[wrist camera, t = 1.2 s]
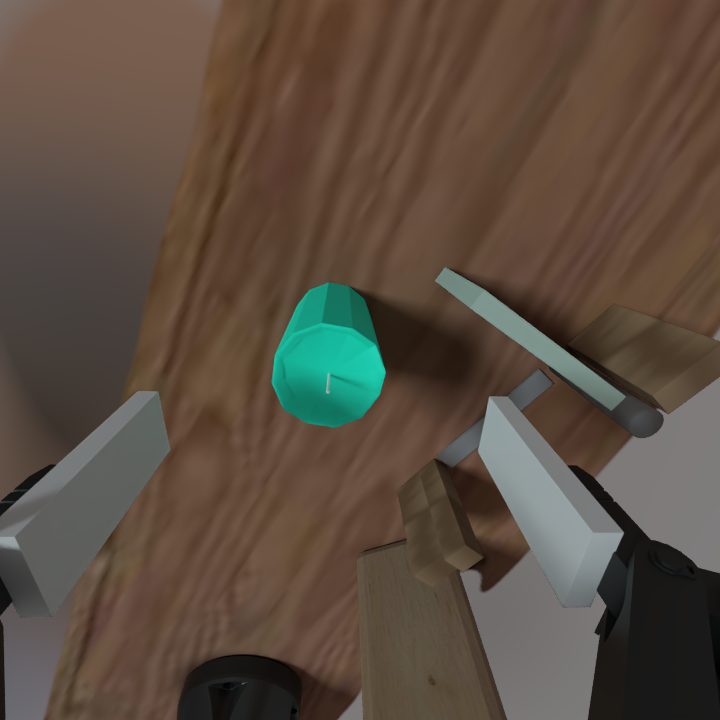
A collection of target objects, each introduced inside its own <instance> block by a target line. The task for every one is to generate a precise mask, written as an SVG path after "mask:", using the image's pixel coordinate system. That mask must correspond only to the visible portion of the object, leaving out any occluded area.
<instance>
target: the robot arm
mask: <svg viewBox="0 0 720 720" xmlns="http://www.w3.org/2000/svg"><path fill="white" fill-rule="evenodd" d="M169 451H170V446H169V441H168V437H167V432H166V427H165V422H164V417H163V412H162V407H161V403H160V398H159V393H158V392H151V391H138V392H137V393H135V394H134V395H133V396H132V397H131V398H130V399H129V400H128V401H127V402H126V403H124V404H123V405H122V406H121V407H120V408H119V409H118V410H117V411H116V412H115V413H113V414H112V415H111V416H110V417H109V418H108V419H107V420H106V421H105V422H104V423H102V424H101V425H100V426H99V427H98V428H97V429H96V430H95V431H94V432H93V433H91V434H90V435H89V436H88V437H87V438H86V439H85V440H84V441H83V442H82V443H81V444H80V445H78V446H77V447H76V448H75V449H74V450H73V451H72V452H71V453H69V454H68V455H67V456H66V457H65V458H64V459H63V460H62V461H61V462H60V463H58V465H48V466H47V467H45V468H43V469H41V470H40V471H38V472H36V473H34V474H33V475H31V476H29V477H28V478H27V479H26V480H25V481H24V482H23V483H21V484H20V485H19V486H18V487H16V488H15V489H14V492H11V493H10V494H8V495H7V496H6V497H5V498H4V499H3V500H1V503H0V615H1V614H2V613H3V612H4V611H5V609H6V608H7V607H8V606H9V605H10V603H11V602H12V603H13V605H14V607H15V609H16V611H17V613H18V615H19V617H20V618H21V617H22V618H23V617H52V616H53V615H54V614H55V612H56V611H57V609H58V608H59V607H60V605H61V604H62V602H63V601H64V600H65V598H66V597H67V595H68V594H69V593H70V591H71V590H72V588H73V587H74V586H75V584H76V583H77V581H78V580H79V578H80V577H81V576H82V574H83V573H84V571H85V570H86V568H87V567H88V566H89V564H90V563H91V561H92V560H93V559H94V557H95V556H96V554H97V553H98V551H99V550H100V549H101V547H102V546H103V544H104V543H105V542H106V540H107V539H108V537H109V536H110V534H111V533H112V532H113V530H114V529H115V527H116V526H117V525H118V523H119V522H120V520H121V519H122V517H123V516H124V515H125V513H126V512H127V510H128V509H129V508H130V506H131V505H132V503H133V502H134V500H135V499H136V498H137V496H138V495H139V493H140V492H141V491H142V489H143V488H144V486H145V485H146V483H147V482H148V481H149V479H150V478H151V476H152V475H153V474H154V472H155V471H156V469H157V468H158V466H159V465H160V464H161V462H162V461H163V459H164V458H165V457H166V455H167V454H168V452H169ZM478 453H479V454H480V456H481V458H482V460H483V462H484V464H485V465H486V467H487V469H488V471H489V473H490V475H491V476H492V478H493V480H494V482H495V484H496V486H497V487H498V489H499V491H500V493H501V495H502V497H503V498H504V500H505V502H506V504H507V506H508V508H509V509H510V511H511V513H512V515H513V517H514V519H515V520H516V522H517V524H518V526H519V528H520V530H521V531H522V533H523V535H524V537H525V539H526V541H527V543H528V544H529V546H530V548H531V550H532V552H533V553H534V555H535V557H536V559H537V561H538V563H539V565H540V566H541V568H542V570H543V572H544V574H545V576H546V577H547V579H548V581H549V583H550V585H551V586H552V588H553V590H554V592H555V594H556V596H557V598H558V599H559V601H560V603H561V605H562V607H590V606H591V604H592V602H593V600H594V597H595V595H596V593H597V592H598V593H599V595H600V596H601V598H602V599H603V601H604V603H605V604H606V606H607V607H606V609H605V611H604V614H603V615H602V618H601V619H600V622H599V624H598V626H597V628H596V630H595V633H596V634H597V635H600V639H599V645H598V652H597V659H596V667H595V673H594V681H593V687H592V695H591V701H590V709H589V715H588V720H720V573H716V572H712V571H708V570H705V569H701V568H698V567H697V566H696V565H695V564H694V562H693V561H692V560H690V559H689V558H688V557H687V556H685V555H684V554H683V553H682V552H680V551H678V550H677V549H675V548H673V547H671V546H669V545H667V544H664V543H661V542H658V541H654V540H650V538H649V537H648V536H647V535H646V534H645V533H644V532H643V531H642V530H641V529H640V528H639V526H638V525H637V524H636V523H635V522H634V521H633V520H632V519H631V518H630V517H629V516H628V514H626V512H625V511H624V510H623V509H622V508H621V507H620V506H619V505H618V504H617V503H616V502H614V501H613V498H612V497H611V496H610V495H609V494H608V493H607V492H606V491H604V488H603V487H602V486H601V485H600V484H599V483H598V482H597V481H596V480H595V478H594V477H593V476H591V475H590V474H588V473H587V472H585V471H584V470H583V469H581V468H580V467H578V466H574V465H566V464H565V463H564V462H563V461H562V459H561V458H560V457H559V456H558V455H557V454H556V452H555V451H554V450H553V449H552V448H551V447H550V445H549V444H548V443H547V442H546V441H545V440H544V438H543V437H542V436H541V435H540V434H539V433H538V431H537V430H536V429H535V428H534V427H533V426H532V424H531V423H530V422H529V421H528V420H527V419H526V417H525V416H524V415H523V414H522V413H521V412H520V410H519V409H518V408H517V407H516V406H515V405H514V403H513V402H512V401H511V400H510V399H509V397H495V396H489V401H488V406H487V411H486V416H485V420H484V425H483V430H482V435H481V440H480V444H479V449H478ZM4 682H5V681H4V636H3V625H2V623H1V620H0V720H5V683H4ZM301 693H302V687H301V683H300V680H299V679H298V677H297V676H296V675H295V674H294V673H293V672H292V671H291V670H290V669H288V668H287V667H285V666H283V665H281V664H279V663H277V662H274V661H272V660H268V659H264V658H259V657H251V656H232V657H224V658H219V659H216V660H212V661H209V662H207V663H205V664H202V665H201V666H199V667H197V668H196V669H195V670H193V671H192V672H191V673H190V674H189V676H188V677H187V679H186V681H185V684H184V687H183V690H182V693H181V696H180V699H179V703H178V710H177V720H297V719H298V716H299V712H300V705H301Z"/></svg>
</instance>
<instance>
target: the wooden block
mask: <svg viewBox="0 0 720 720" xmlns="http://www.w3.org/2000/svg"><path fill="white" fill-rule="evenodd" d="M357 582H358V606H359V629H360V653H361V676H362V699H363V720H507V718H506V715H505V712H504V709H503V705H502V703H501V699H500V696H499V693H498V690H497V687H496V684H495V681H494V678H493V674H492V671H491V669H490V666H489V662H488V659H487V656H486V653H485V650H484V647H483V644H482V640H481V637H480V635H479V631H478V628H477V625H476V622H475V619H474V616H473V613H472V610H471V606H470V603H469V600H468V597H467V594H466V591H465V588H464V585H463V582H462V579H461V576H460V573H459V570H458V569H457V570H455V571H454V572H452V573H451V574H450V575H448V576H447V577H446V578H444V579H443V580H441V581H440V582H439V583H437V584H436V585H435V586H433V587H431V586H429V585H427V584H426V583H424V582H423V581H421V580H419V579H418V578H416V577H414V573H413V568H412V563H411V558H410V553H409V548H408V543H407V540H404V541H401V542H397V543H393V544H390V545H386V546H383V547H379V548H376V549H372V550H368V551H365V552H362V553H361V554H360V555H359V556H358V559H357Z"/></svg>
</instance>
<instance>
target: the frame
mask: <svg viewBox="0 0 720 720" xmlns="http://www.w3.org/2000/svg"><path fill="white" fill-rule="evenodd" d="M567 345H568V346H569V347H570V348H571V349H572V350H573V351H574V352H575V353H576V354H577V355H578V357H579V358H580V359H582V360H583V361H585V362H586V363H588V364H590V365H591V366H593V367H594V368H596V369H598V370H599V371H601V372H602V373H604V374H605V375H607V376H609V377H610V378H612V379H613V380H615V381H617V382H618V383H620V384H621V385H623V386H624V387H626V388H628V389H629V390H631V391H632V392H634V393H636V394H637V395H639V396H640V397H642V398H643V399H645V400H647V401H648V402H650V403H651V404H653V405H655V406H656V407H658V408H659V409H661V410H663V411H664V412H666V413H667V414H670V413H671V412H672V411H674V410H675V409H676V408H678V407H679V406H681V405H682V404H683V403H685V402H686V401H687V400H689V399H690V398H691V397H693V396H694V395H696V394H697V393H698V392H700V391H701V390H702V389H704V388H705V387H706V386H708V385H709V384H711V383H712V382H713V381H715V380H716V379H717V378H719V377H720V341H718V340H715V339H712V338H709V337H706V336H704V335H701V334H698V333H695V332H692V331H689V330H687V329H684V328H681V327H678V326H675V325H672V324H670V323H667V322H664V321H661V320H658V319H655V318H653V317H650V316H647V315H644V314H641V313H638V312H636V311H633V310H630V309H627V308H624V307H621V306H619V305H616V304H613V305H612V306H611V307H610V308H609V309H608V310H606V311H605V312H604V313H603V314H602V315H601V316H599V317H598V318H597V319H596V320H595V321H594V322H592V323H591V324H590V325H589V326H588V327H587V328H585V329H584V330H583V331H582V332H581V333H580V334H578V335H577V336H576V337H575V338H574V339H573V340H571V341H570V342H569V343H568V344H567ZM574 358H575V357H574ZM577 360H578V359H577ZM578 361H579V360H578ZM580 362H581V361H580ZM581 363H582V362H581ZM582 364H584V363H582ZM584 365H585V364H584ZM585 366H586V367H587V368H589V369H590V370H591V371H593V372H594V373H595V374H597V375H598V376H599V377H601V378H602V379H603V380H605V381H606V382H607V383H609V384H610V385H611V386H613V387H614V388H615V389H617V390H618V391H619V392H621V393H622V394H623V395H625V396H626V398H624V399H623V400H622V401H621V402H620V403H619V404H618V405H617V406H616V407H615V408H614V409H613V410H612V411H611V410H610V409H608V408H607V407H605V406H604V405H603V404H601V403H600V402H599V401H597V400H596V399H594V398H593V397H592V396H590V395H589V394H588V393H586V392H585V391H583V390H582V389H581V388H579V387H578V386H577V385H575V384H574V383H572V382H571V381H570V380H568V379H567V378H566V377H564V376H563V375H561V374H560V373H559V372H557V371H556V370H555V369H553V368H552V367H550V366H549V369H550V370H551V371H552V372H553V373H554V374H555V375H557V376H558V377H559V378H560V379H562V380H563V381H564V382H566V383H567V384H568V385H569V386H571V387H572V388H573V389H575V390H576V391H577V392H578V393H580V394H581V395H582V396H584V397H585V398H586V399H587V400H589V401H590V402H591V403H593V404H594V405H595V406H596V407H598V408H599V409H600V410H601V411H603V412H604V413H605V414H607V415H608V416H609V417H610V418H612V419H613V420H614V421H616V422H617V423H618V424H619V425H621V426H622V427H623V428H625V429H626V430H627V431H628V432H630V433H631V434H632V435H634V436H635V437H637V438H646V437H649V436H652V435H653V434H655V433H656V432H657V431H658V430H659V429H660V428H661V426H662V424H663V420H664V419H663V415H662V414H661V413H660V412H659V411H657V410H655V409H654V408H652V407H651V406H649V405H648V404H646V403H645V402H643V401H641V400H640V399H638V398H637V397H635V396H634V395H632V394H631V393H629V392H627V391H626V390H624V389H623V388H621V387H620V386H618V385H617V384H615V383H613V382H612V381H610V380H609V379H607V378H606V377H604V376H603V375H601V374H599V373H598V372H596V371H595V370H593V369H592V368H590V367H589V366H587V365H585ZM551 385H553V383H552V382H551V381H550V380H549V379H548V378H547V377H546V376H545V375H544V374H543V373H542V372H541V371H540V370H539V369H538V370H536V371H535V372H534V373H533V374H532V375H531V376H529V377H528V378H527V379H526V380H525V381H524V382H523V383H521V384H520V385H519V386H518V387H517V388H516V389H514V390H513V391H512V392H511V393H510V394H509V395H507V396H506V397H509V399H510V400H511V401H512V402H513V403H514V405H515V406H516V407H517V408H518V409H519V410H520V411H521V410H523V409H524V408H525V407H526V406H527V405H529V404H530V403H531V402H532V401H533V400H535V399H536V398H537V397H538V396H539V395H541V394H542V393H543V392H544V391H545V390H547V389H548V388H549V387H550V386H551ZM485 416H486V414H485V415H484V416H483V417H482V418H481V419H479V420H478V421H477V422H476V423H475V424H474V425H472V426H471V427H470V428H469V429H468V430H467V431H465V432H464V433H463V434H462V435H461V436H460V437H458V438H457V439H456V440H455V441H454V442H453V443H451V444H450V445H449V446H448V447H447V448H446V449H444V450H443V451H442V452H441V453H440V454H439V455H438V456H437V457H438V458H439V459H440V460H441V461H443V462H444V463H445V464H447V465H448V466H449V467H450V468H453V467H454V466H455V465H457V464H458V463H459V462H460V461H461V460H463V459H464V458H465V457H466V456H467V455H469V454H470V453H471V452H472V451H473V450H475V449H476V448H477V447H478V446H479V444H480V440H481V435H482V430H483V425H484V420H485ZM397 492H398V497H399V502H400V507H401V512H402V517H403V522H404V528H405V533H406V538H407V543H408V548H409V553H410V558H411V563H412V568H413V573H414V577H416V578H418V579H419V580H421V581H423V582H424V583H426V584H427V585H429V586H431V587H433V586H435V585H436V584H437V583H439V582H440V581H441V580H443V579H444V578H446V577H447V576H448V575H450V574H451V573H452V572H454V571H455V570H457V569H459V570H460V571H462V572H464V571H466V570H467V569H469V568H470V567H471V566H473V565H474V564H475V563H477V562H478V561H480V560H481V559H482V558H484V557H483V554H482V552H481V549H480V547H479V545H478V542H477V540H476V537H475V535H474V532H473V530H472V527H471V525H470V522H469V520H468V517H467V515H466V513H465V510H464V508H463V505H462V503H461V500H460V498H459V495H458V493H457V490H456V488H455V485H454V483H453V481H452V478H451V476H450V473H449V471H448V469H447V468H445V467H444V466H443V465H442V464H440V463H439V462H438V461H436V460H435V459H433V460H432V461H431V462H429V463H428V464H427V465H426V466H425V467H424V468H422V469H421V470H420V471H419V472H418V473H417V474H415V475H414V476H413V477H412V478H411V479H410V480H408V481H407V482H406V483H405V484H404V485H403V486H401V487H400V488H399V489H398V490H397Z"/></svg>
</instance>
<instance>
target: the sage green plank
mask: <svg viewBox="0 0 720 720" xmlns="http://www.w3.org/2000/svg"><path fill="white" fill-rule="evenodd" d="M435 281H436V282H437V283H439V284H440V285H441V286H442V287H444V288H445V289H446V290H448V291H449V292H450V293H451V294H453V295H454V296H455V297H457V298H458V299H459V300H460V301H462V302H463V303H464V304H466V305H467V306H468V307H469V308H471V309H472V310H473V311H475V312H476V313H478V314H479V315H480V316H482V317H483V318H484V319H486V320H487V321H489V322H490V323H491V324H493V325H494V326H495V327H497V328H498V329H500V330H501V331H502V332H504V333H505V334H506V335H508V336H509V337H511V338H512V339H513V340H515V341H516V342H517V343H519V344H520V345H522V346H523V347H524V348H526V349H527V350H528V351H530V352H531V353H533V354H534V355H535V356H537V357H538V358H539V359H541V360H542V361H544V362H545V363H546V364H548V365H549V366H550V367H552V368H553V369H555V370H556V371H557V372H559V373H560V374H561V375H563V376H564V377H566V378H567V379H568V380H570V381H571V382H572V383H574V384H575V385H577V386H578V387H579V388H581V389H582V390H583V391H585V392H586V393H588V394H589V395H590V396H592V397H593V398H594V399H596V400H597V401H599V402H600V403H601V404H603V405H604V406H605V407H607V408H608V409H610V410H611V411H612V410H613V409H614V408H615V407H616V406H617V405H618V404H619V403H620V402H621V401H622V400H623V399H624V398H626V396H625V395H623V394H622V393H621V392H619V391H618V390H617V389H615V388H614V387H613V386H611V385H610V384H609V383H607V382H606V381H605V380H603V379H602V378H601V377H599V376H598V375H597V374H595V373H594V372H593V371H591V370H590V369H589V368H587V367H586V366H585V365H584V364H582V363H581V362H580V361H578V360H577V359H576V358H574V357H573V356H572V355H570V354H569V353H568V352H566V351H565V350H564V349H562V348H561V347H560V346H558V345H557V344H556V343H554V342H553V341H552V340H550V339H549V338H548V337H546V336H545V335H544V334H542V333H541V332H540V331H539V330H537V329H536V328H535V327H533V326H532V325H531V324H529V323H528V322H527V321H525V320H524V319H523V318H521V317H520V316H519V315H517V314H516V313H515V312H513V311H512V310H511V309H509V308H508V307H507V306H505V305H504V304H503V303H501V302H500V301H499V300H497V299H496V298H495V297H494V296H492V295H491V294H490V293H488V292H487V291H486V290H484V289H482V288H481V287H479V286H477V285H475V284H474V283H472V282H470V281H468V280H467V279H465V278H463V277H461V276H460V275H458V274H456V273H454V272H453V271H451V270H449V269H447V268H446V267H445V268H444V269H443V271H442V272H441V273H440V275H439V276H438V277H437V279H436V280H435Z"/></svg>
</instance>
